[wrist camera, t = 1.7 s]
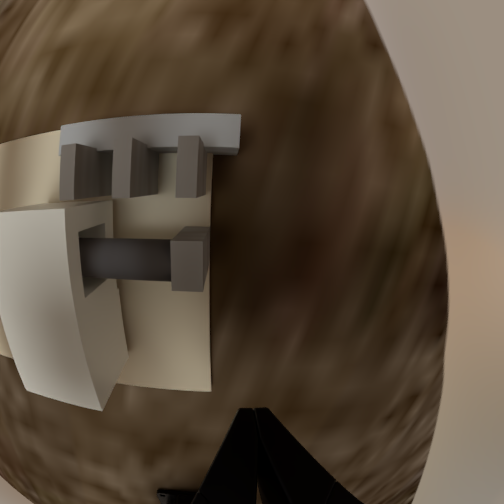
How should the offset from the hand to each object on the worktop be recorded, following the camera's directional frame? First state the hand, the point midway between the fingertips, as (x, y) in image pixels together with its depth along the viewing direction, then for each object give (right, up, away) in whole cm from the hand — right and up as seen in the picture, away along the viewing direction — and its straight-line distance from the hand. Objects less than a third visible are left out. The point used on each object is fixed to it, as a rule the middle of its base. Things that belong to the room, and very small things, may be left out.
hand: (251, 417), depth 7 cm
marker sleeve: (-8, +3, +4) cm, 9 cm away
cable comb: (-13, +4, +4) cm, 15 cm away
